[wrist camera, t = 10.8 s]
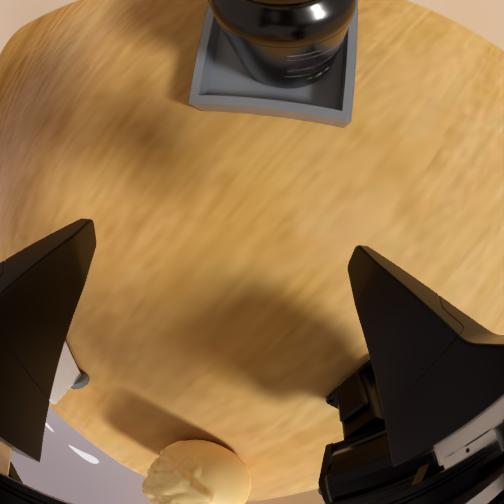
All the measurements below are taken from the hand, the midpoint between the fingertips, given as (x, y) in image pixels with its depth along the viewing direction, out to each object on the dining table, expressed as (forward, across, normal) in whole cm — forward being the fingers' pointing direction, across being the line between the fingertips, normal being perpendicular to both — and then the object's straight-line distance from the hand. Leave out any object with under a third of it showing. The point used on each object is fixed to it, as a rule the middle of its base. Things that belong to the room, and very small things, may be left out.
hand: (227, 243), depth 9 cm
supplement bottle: (+14, -3, -8) cm, 16 cm away
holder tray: (+14, -3, -7) cm, 16 cm away
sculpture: (+2, -1, +33) cm, 33 cm away
